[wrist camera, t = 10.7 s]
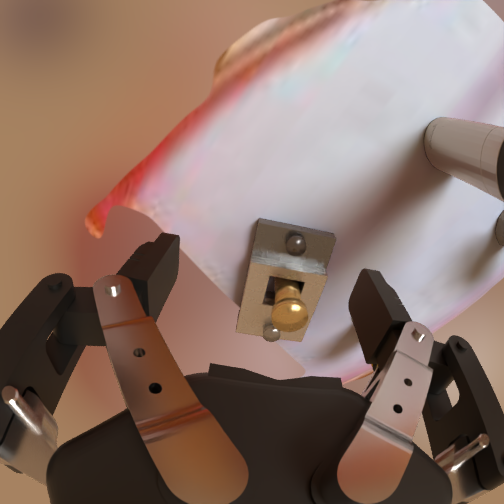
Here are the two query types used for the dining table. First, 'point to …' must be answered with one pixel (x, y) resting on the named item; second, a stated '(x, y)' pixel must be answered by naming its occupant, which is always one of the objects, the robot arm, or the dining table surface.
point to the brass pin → (288, 306)
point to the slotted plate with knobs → (283, 274)
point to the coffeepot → (500, 229)
